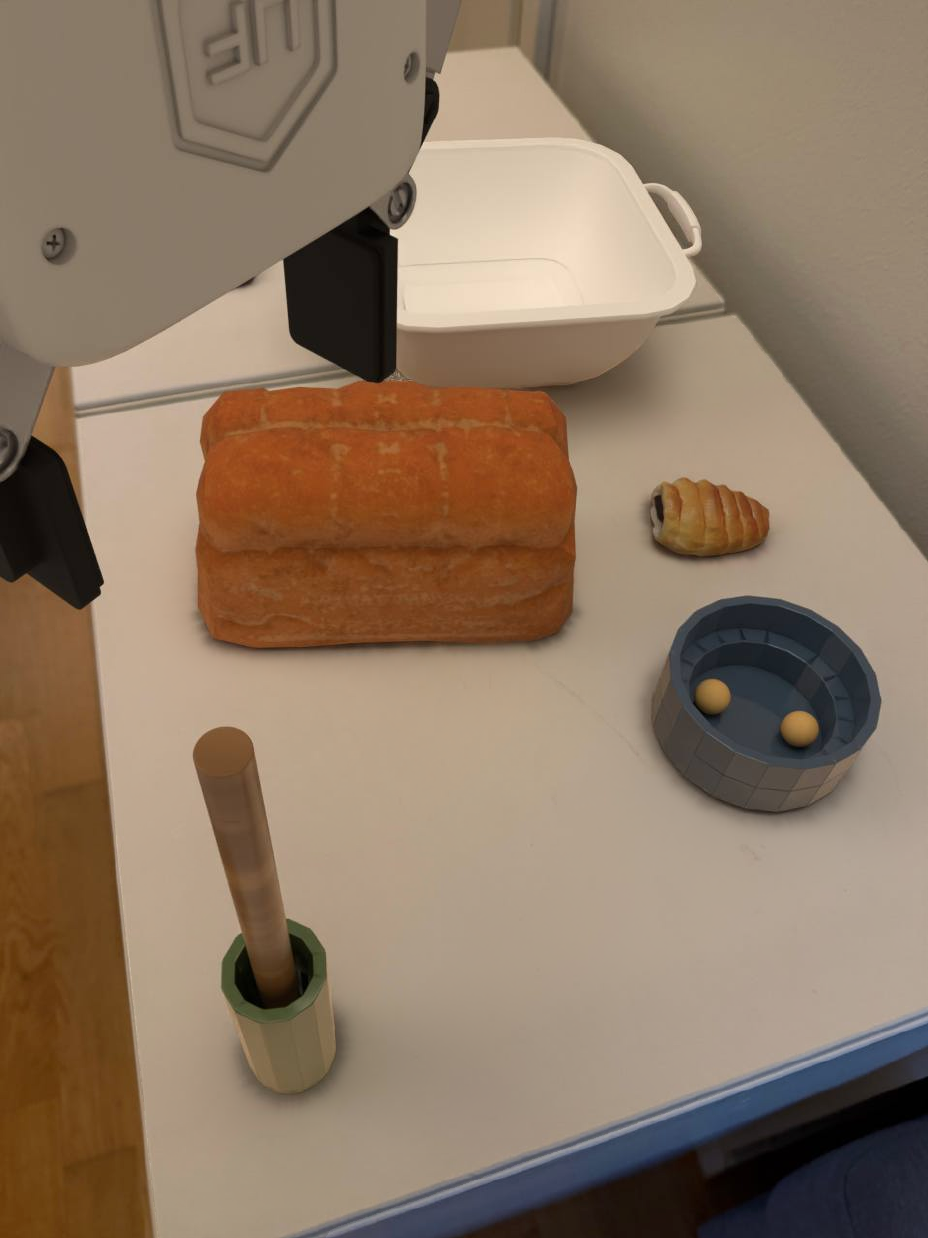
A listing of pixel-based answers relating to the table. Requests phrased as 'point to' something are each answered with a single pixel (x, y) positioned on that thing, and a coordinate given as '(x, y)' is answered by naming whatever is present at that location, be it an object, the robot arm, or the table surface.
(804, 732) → the chickpea
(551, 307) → the baking dish
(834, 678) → the bowl
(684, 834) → the table surface
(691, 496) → the pastry
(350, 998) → the table surface
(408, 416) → the bread
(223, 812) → the wooden dowel rod
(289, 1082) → the utensil pot
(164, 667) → the table surface
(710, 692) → the chickpea
